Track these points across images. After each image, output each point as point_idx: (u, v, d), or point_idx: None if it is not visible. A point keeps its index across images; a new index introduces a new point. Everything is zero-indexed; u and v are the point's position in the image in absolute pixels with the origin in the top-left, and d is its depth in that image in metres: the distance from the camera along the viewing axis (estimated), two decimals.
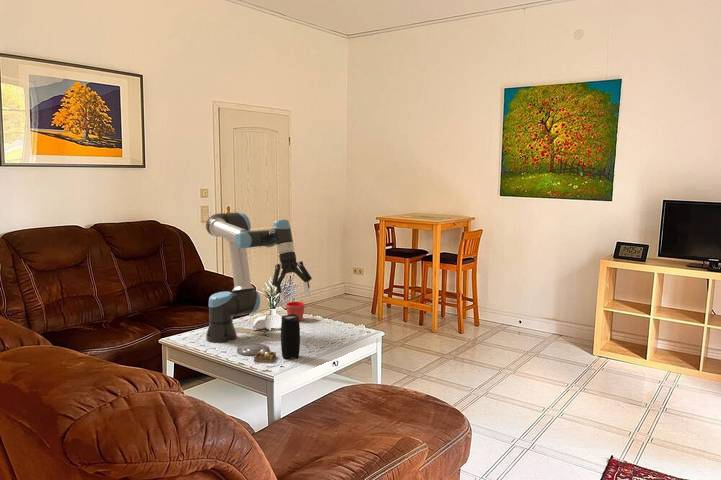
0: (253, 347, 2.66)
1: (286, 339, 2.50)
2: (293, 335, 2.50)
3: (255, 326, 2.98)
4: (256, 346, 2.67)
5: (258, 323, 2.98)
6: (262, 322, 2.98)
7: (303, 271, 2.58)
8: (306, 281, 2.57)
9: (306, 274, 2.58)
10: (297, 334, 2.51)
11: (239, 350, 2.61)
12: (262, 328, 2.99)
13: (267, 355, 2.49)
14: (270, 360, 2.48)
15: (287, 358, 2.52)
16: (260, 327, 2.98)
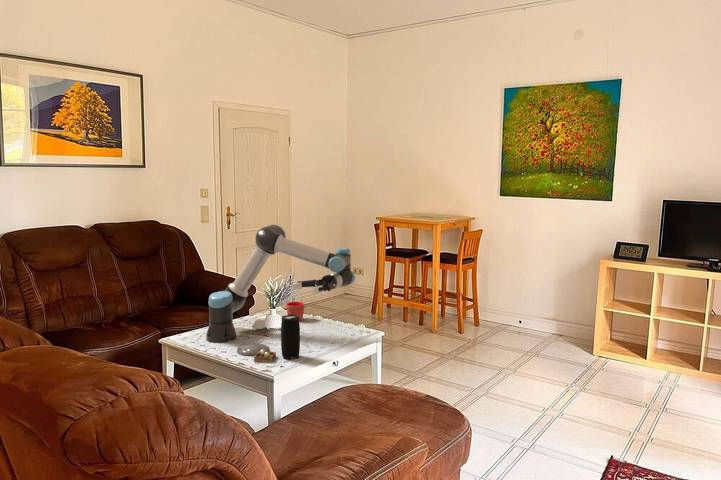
0: (253, 347, 2.66)
1: (286, 339, 2.50)
2: (293, 335, 2.50)
3: (255, 326, 2.98)
4: (256, 346, 2.67)
5: (258, 323, 2.98)
6: (262, 322, 2.98)
7: None
8: None
9: None
10: (297, 334, 2.51)
11: (239, 350, 2.61)
12: (262, 328, 2.99)
13: (267, 355, 2.49)
14: (270, 360, 2.48)
15: (287, 358, 2.52)
16: (260, 327, 2.98)
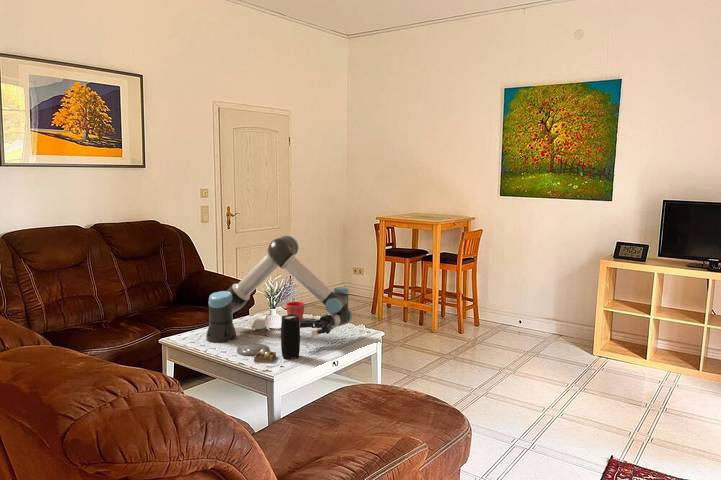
0: (253, 347, 2.66)
1: (286, 339, 2.50)
2: (293, 335, 2.50)
3: (254, 326, 2.98)
4: (256, 346, 2.67)
5: (257, 323, 2.98)
6: (261, 322, 2.98)
7: None
8: None
9: None
10: (297, 334, 2.51)
11: (239, 350, 2.61)
12: (261, 328, 2.99)
13: (267, 355, 2.49)
14: (270, 360, 2.48)
15: (287, 358, 2.52)
16: (259, 327, 2.98)
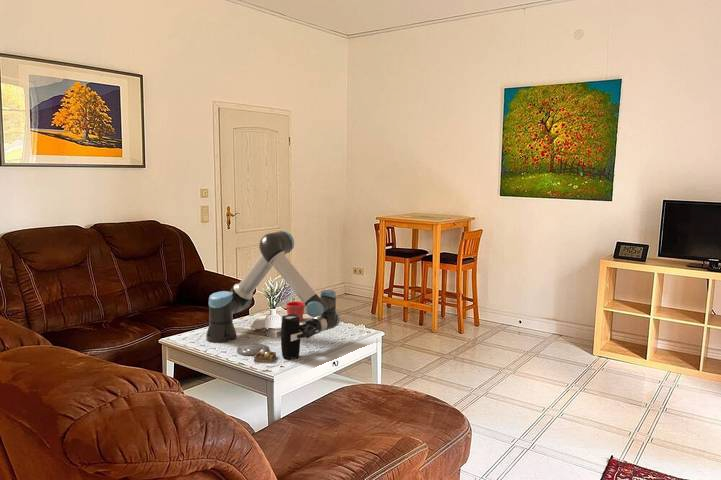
0: (253, 347, 2.66)
1: (286, 339, 2.50)
2: None
3: (253, 326, 2.98)
4: (256, 346, 2.67)
5: (256, 323, 2.98)
6: (260, 322, 2.98)
7: None
8: None
9: None
10: None
11: (239, 350, 2.61)
12: (260, 328, 2.99)
13: (267, 355, 2.49)
14: (270, 360, 2.48)
15: (287, 358, 2.52)
16: (258, 327, 2.98)
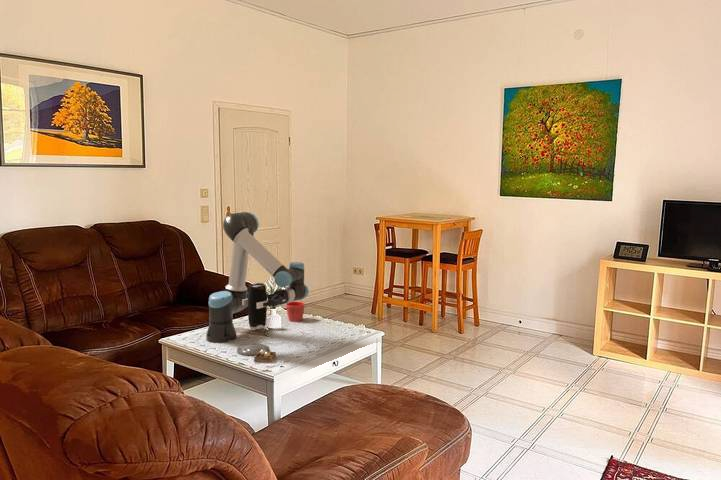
0: (253, 347, 2.66)
1: (252, 307, 2.56)
2: None
3: None
4: (256, 346, 2.67)
5: None
6: None
7: None
8: None
9: None
10: None
11: (239, 350, 2.61)
12: (260, 328, 2.99)
13: (267, 355, 2.49)
14: (270, 360, 2.48)
15: (253, 325, 2.58)
16: (258, 327, 2.98)
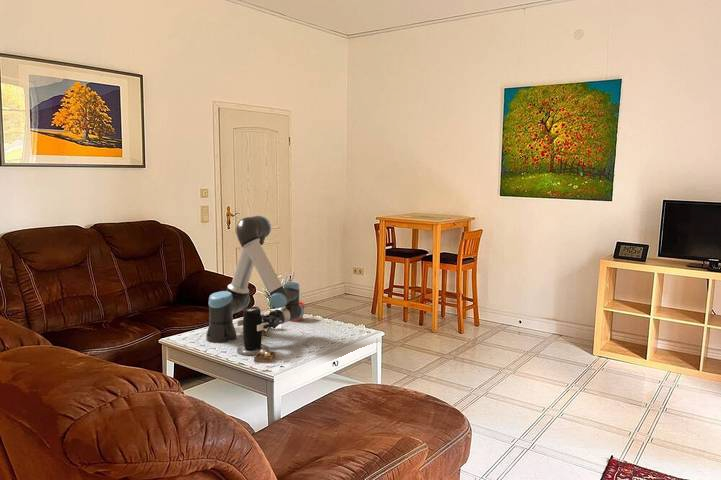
0: None
1: (247, 331, 2.59)
2: (254, 326, 2.59)
3: None
4: None
5: None
6: None
7: None
8: None
9: None
10: None
11: (239, 350, 2.61)
12: None
13: (267, 355, 2.49)
14: (270, 360, 2.48)
15: (249, 349, 2.60)
16: None
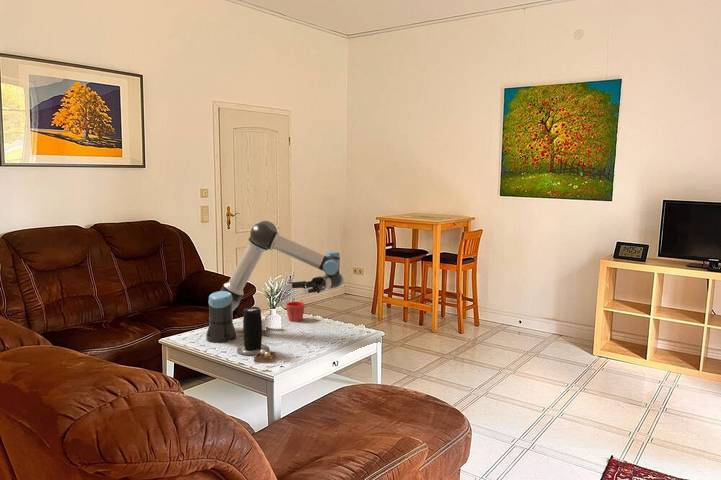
0: None
1: (248, 331, 2.59)
2: (254, 326, 2.59)
3: None
4: None
5: None
6: None
7: None
8: None
9: None
10: (258, 326, 2.60)
11: (239, 350, 2.61)
12: None
13: (267, 355, 2.49)
14: (270, 360, 2.48)
15: (249, 349, 2.60)
16: None
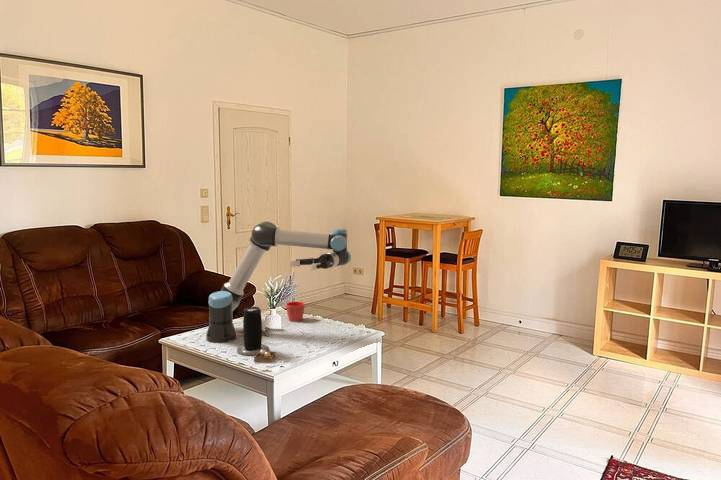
0: None
1: (248, 331, 2.59)
2: (254, 326, 2.59)
3: None
4: None
5: None
6: None
7: None
8: None
9: None
10: (258, 326, 2.60)
11: (239, 350, 2.61)
12: None
13: (267, 355, 2.49)
14: (270, 360, 2.48)
15: (249, 349, 2.60)
16: None
